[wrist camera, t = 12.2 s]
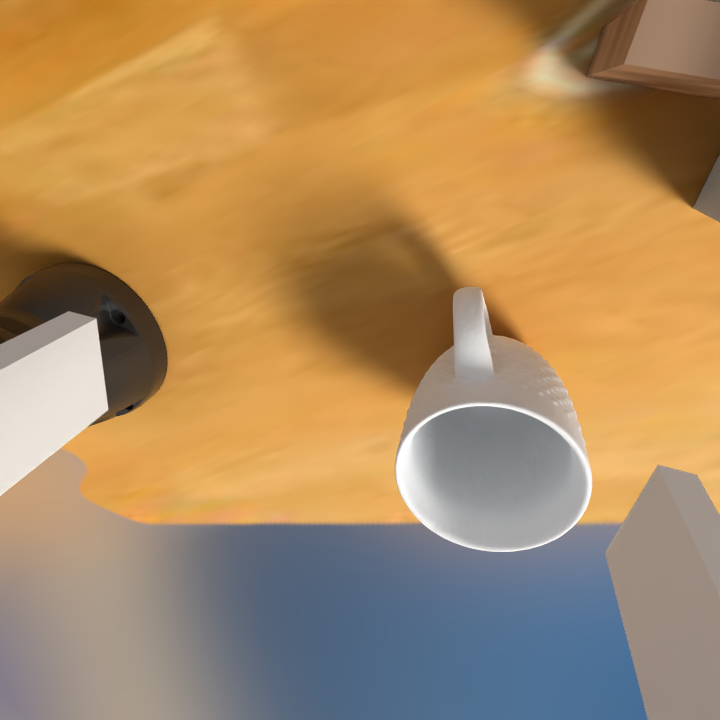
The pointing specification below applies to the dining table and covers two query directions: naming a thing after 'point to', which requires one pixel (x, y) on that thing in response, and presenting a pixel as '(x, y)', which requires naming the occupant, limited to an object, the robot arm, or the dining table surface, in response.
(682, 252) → the dining table surface
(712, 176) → the pale blue flat slat
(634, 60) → the walnut slot plate
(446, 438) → the mug
